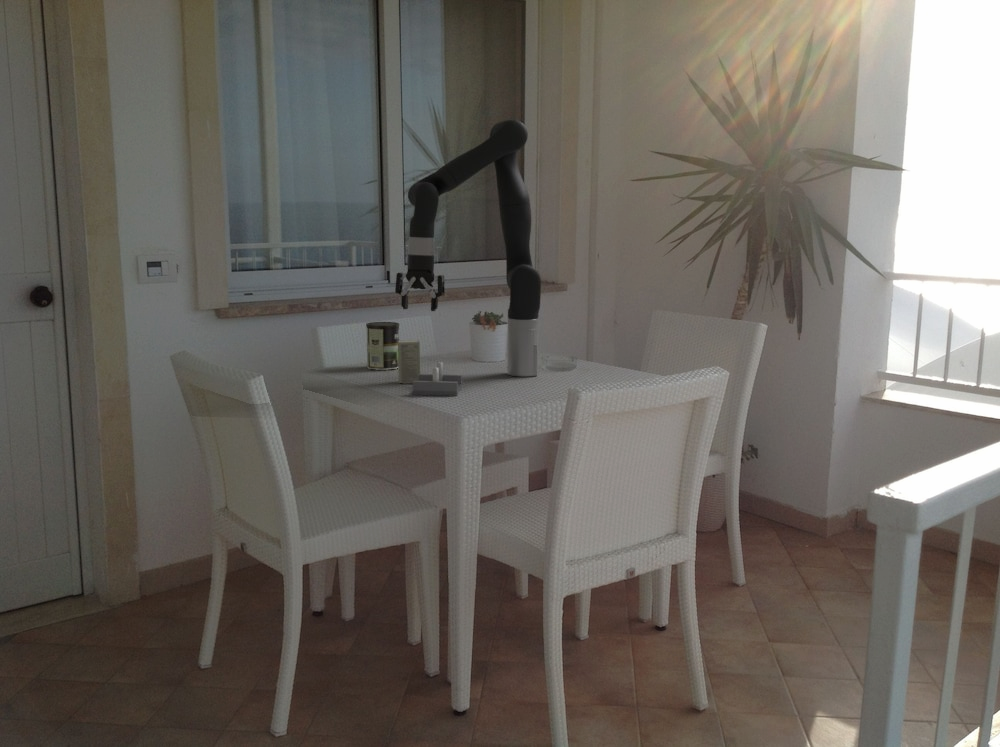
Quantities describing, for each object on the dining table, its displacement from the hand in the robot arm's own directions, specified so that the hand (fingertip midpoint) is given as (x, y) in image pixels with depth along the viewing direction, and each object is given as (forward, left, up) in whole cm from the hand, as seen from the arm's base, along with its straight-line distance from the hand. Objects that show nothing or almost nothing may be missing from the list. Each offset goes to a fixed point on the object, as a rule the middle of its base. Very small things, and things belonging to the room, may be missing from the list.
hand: (419, 309), depth 272 cm
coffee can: (+15, -20, -21) cm, 32 cm away
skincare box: (+3, +3, -21) cm, 21 cm away
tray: (-7, +15, -21) cm, 27 cm away
